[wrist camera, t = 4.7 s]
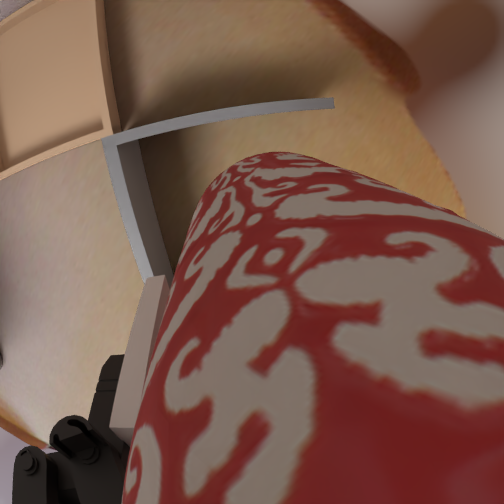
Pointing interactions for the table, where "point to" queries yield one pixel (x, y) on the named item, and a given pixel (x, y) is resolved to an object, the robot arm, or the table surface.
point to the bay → (136, 185)
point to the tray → (54, 81)
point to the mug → (324, 349)
